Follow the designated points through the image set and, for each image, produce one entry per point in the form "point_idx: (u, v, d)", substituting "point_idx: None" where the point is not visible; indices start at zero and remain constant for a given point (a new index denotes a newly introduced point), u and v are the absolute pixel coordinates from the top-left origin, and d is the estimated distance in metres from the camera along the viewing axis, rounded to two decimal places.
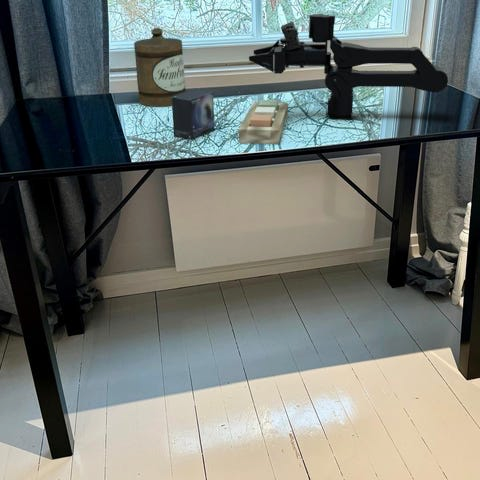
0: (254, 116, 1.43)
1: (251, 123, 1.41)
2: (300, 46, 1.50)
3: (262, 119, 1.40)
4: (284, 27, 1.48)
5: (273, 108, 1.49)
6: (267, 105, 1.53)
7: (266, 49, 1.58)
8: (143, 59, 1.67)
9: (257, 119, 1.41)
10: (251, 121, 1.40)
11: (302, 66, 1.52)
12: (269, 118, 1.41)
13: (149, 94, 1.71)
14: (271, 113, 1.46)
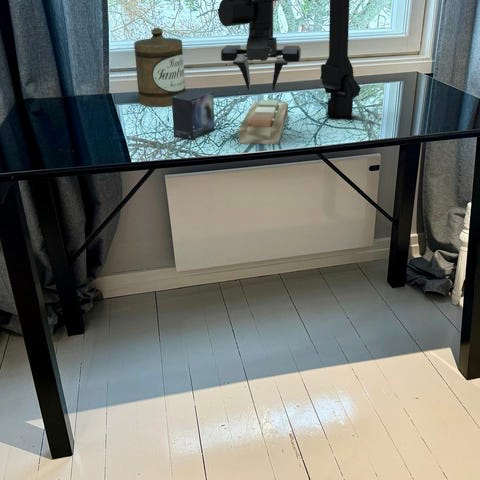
0: (254, 116, 1.43)
1: (251, 123, 1.41)
2: (269, 33, 1.29)
3: (262, 119, 1.40)
4: (266, 56, 1.27)
5: (273, 108, 1.49)
6: (267, 105, 1.53)
7: (247, 74, 1.37)
8: (143, 59, 1.67)
9: (257, 119, 1.41)
10: (251, 121, 1.40)
11: None
12: (269, 118, 1.41)
13: (149, 94, 1.71)
14: (271, 113, 1.46)
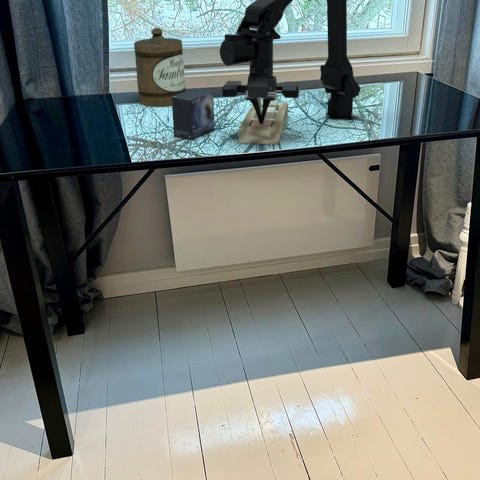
0: (254, 122, 1.44)
1: None
2: (269, 70, 1.34)
3: (262, 125, 1.41)
4: (266, 94, 1.31)
5: (273, 108, 1.49)
6: None
7: (259, 109, 1.40)
8: (143, 59, 1.67)
9: (257, 125, 1.41)
10: None
11: None
12: (269, 124, 1.42)
13: (149, 94, 1.71)
14: (271, 113, 1.46)
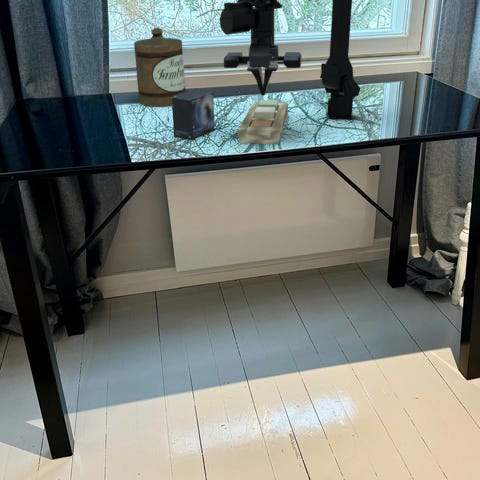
0: (254, 122, 1.44)
1: None
2: (271, 40, 1.32)
3: (262, 125, 1.41)
4: (268, 63, 1.30)
5: (273, 108, 1.49)
6: (267, 105, 1.53)
7: (261, 81, 1.39)
8: (143, 59, 1.67)
9: (257, 125, 1.41)
10: None
11: None
12: (269, 124, 1.42)
13: (149, 94, 1.71)
14: (271, 113, 1.46)
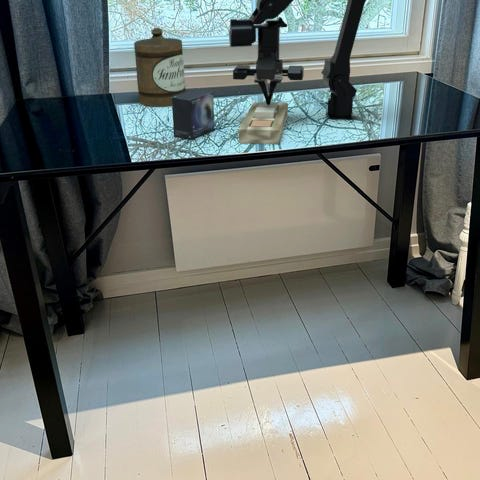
0: (254, 122, 1.44)
1: None
2: (276, 55, 1.46)
3: (262, 125, 1.41)
4: (273, 76, 1.44)
5: (273, 108, 1.49)
6: None
7: (267, 91, 1.53)
8: (143, 59, 1.67)
9: (257, 125, 1.41)
10: None
11: None
12: (269, 124, 1.42)
13: (149, 94, 1.71)
14: (271, 113, 1.46)
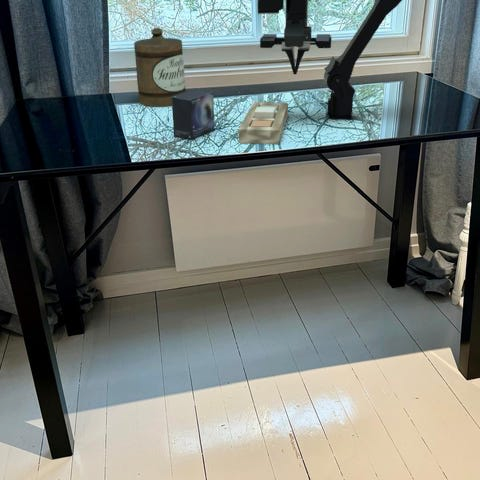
0: (254, 122, 1.44)
1: None
2: (304, 22, 1.44)
3: (262, 125, 1.41)
4: (302, 43, 1.42)
5: (273, 108, 1.49)
6: None
7: (294, 60, 1.51)
8: (143, 59, 1.67)
9: (257, 125, 1.41)
10: None
11: None
12: (269, 124, 1.42)
13: (149, 94, 1.71)
14: (271, 113, 1.46)
